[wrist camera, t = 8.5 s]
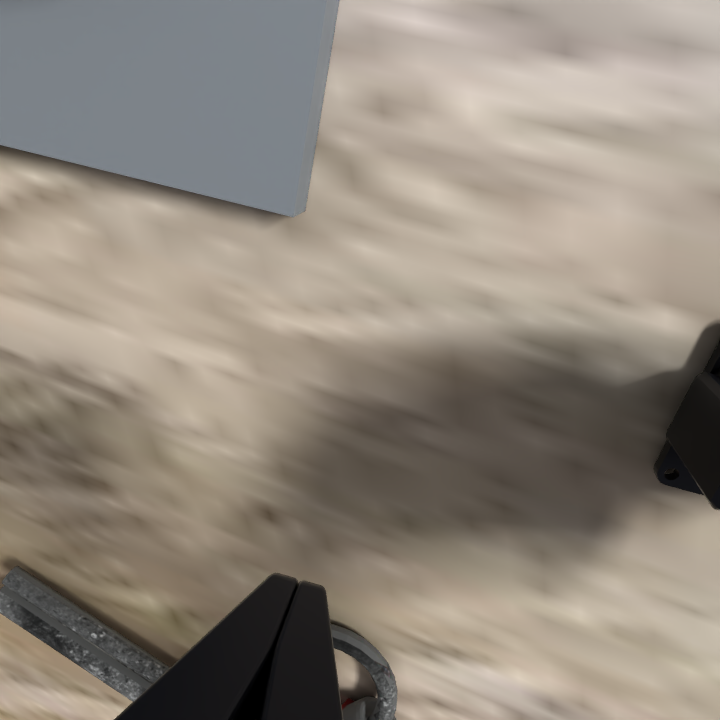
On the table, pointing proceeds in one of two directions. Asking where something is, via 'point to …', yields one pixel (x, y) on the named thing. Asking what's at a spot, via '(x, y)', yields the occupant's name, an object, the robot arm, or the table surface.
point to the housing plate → (172, 91)
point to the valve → (138, 667)
